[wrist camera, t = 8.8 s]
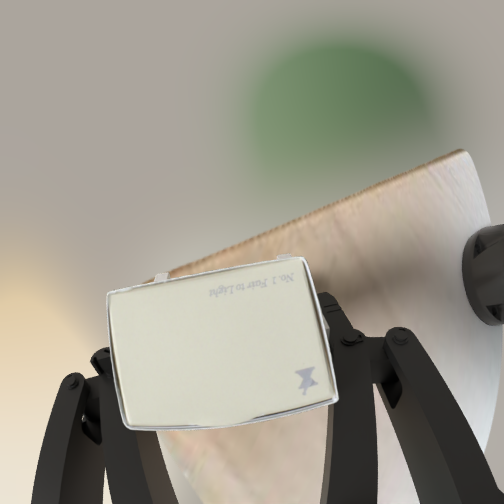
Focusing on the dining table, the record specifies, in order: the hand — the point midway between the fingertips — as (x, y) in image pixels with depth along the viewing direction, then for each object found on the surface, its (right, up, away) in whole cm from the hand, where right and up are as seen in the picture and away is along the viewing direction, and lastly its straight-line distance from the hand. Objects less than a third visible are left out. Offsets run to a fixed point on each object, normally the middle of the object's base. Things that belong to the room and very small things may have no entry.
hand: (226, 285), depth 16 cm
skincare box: (+1, -5, +3) cm, 6 cm away
